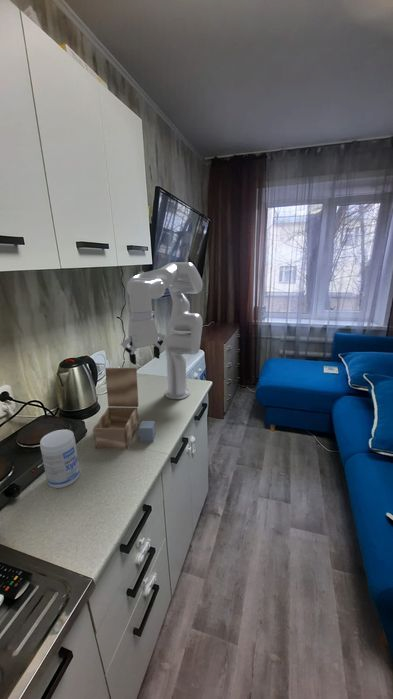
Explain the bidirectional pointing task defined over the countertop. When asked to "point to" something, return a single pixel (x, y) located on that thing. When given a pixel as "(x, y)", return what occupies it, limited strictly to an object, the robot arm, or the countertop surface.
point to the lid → (122, 387)
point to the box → (116, 428)
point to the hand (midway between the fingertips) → (145, 360)
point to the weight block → (147, 431)
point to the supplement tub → (60, 458)
